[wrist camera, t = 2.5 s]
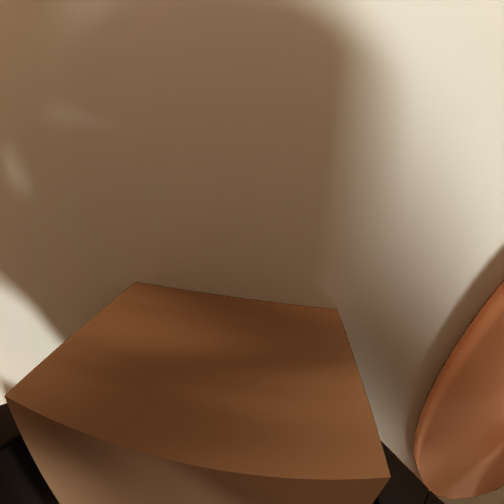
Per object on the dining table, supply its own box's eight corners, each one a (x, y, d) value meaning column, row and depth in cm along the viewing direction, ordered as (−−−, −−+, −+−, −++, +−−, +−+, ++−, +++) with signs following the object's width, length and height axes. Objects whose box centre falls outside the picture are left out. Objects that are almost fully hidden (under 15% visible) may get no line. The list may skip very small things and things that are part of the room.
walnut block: (336, 308, 8) (390, 477, 3) (300, 446, 9) (300, 584, 4) (136, 281, 8) (4, 395, 3) (147, 421, 9) (86, 540, 4)
